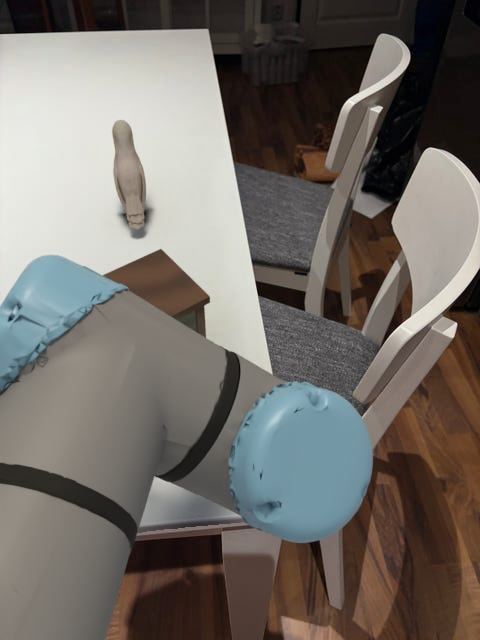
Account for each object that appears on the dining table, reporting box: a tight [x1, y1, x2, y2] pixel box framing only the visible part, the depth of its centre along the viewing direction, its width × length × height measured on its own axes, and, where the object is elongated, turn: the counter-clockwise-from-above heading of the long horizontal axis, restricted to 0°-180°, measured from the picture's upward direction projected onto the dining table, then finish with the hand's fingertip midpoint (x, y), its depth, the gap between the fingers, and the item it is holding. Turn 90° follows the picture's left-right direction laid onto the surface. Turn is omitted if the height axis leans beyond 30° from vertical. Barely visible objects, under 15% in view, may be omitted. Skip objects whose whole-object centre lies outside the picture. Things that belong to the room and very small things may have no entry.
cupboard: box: [102, 248, 211, 338], centre depth 61 cm, size 10×16×14 cm, turn 128°
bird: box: [111, 119, 149, 230], centre depth 84 cm, size 5×14×15 cm, turn 13°
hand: (130, 401), depth 59 cm, fingers closed on sliding door, 7 cm apart
